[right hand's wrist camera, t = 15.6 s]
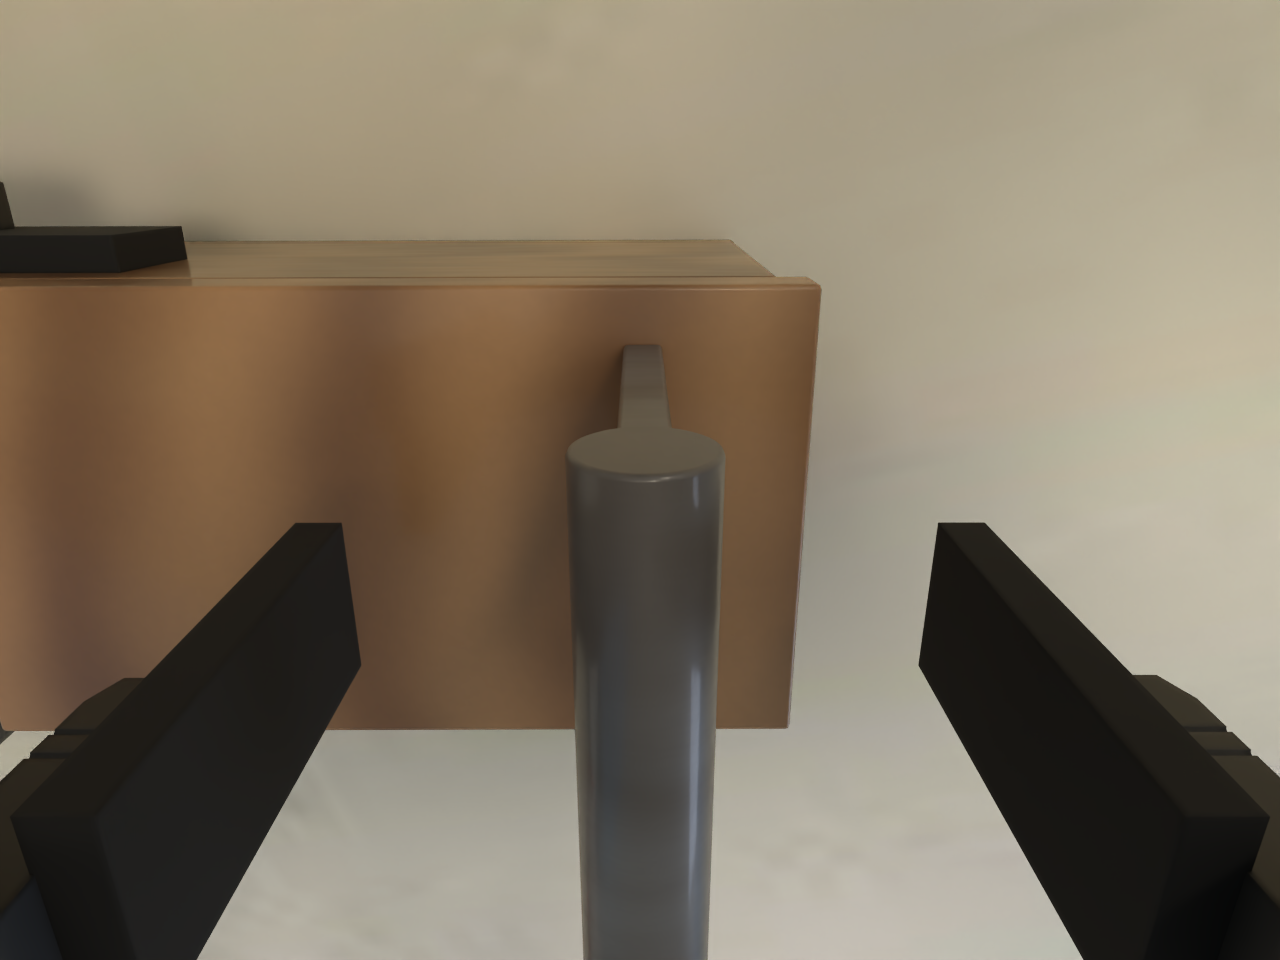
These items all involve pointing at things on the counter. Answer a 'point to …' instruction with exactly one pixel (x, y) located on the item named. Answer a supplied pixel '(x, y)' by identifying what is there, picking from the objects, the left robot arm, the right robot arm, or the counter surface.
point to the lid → (437, 517)
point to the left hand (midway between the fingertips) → (197, 473)
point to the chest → (444, 260)
